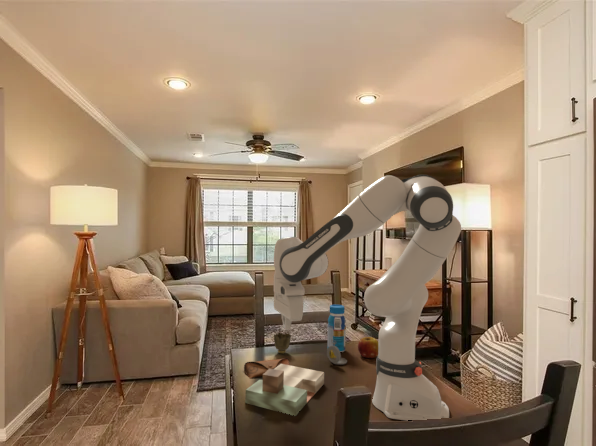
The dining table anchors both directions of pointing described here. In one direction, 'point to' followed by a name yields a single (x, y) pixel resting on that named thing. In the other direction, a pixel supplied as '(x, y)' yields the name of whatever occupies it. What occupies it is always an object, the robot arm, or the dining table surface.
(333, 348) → the pocket watch
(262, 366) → the sunglasses case
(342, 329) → the blue labeled canister
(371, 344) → the fruit
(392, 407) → the robot arm
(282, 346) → the cup
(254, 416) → the dining table surface
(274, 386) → the walnut block
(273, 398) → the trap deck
